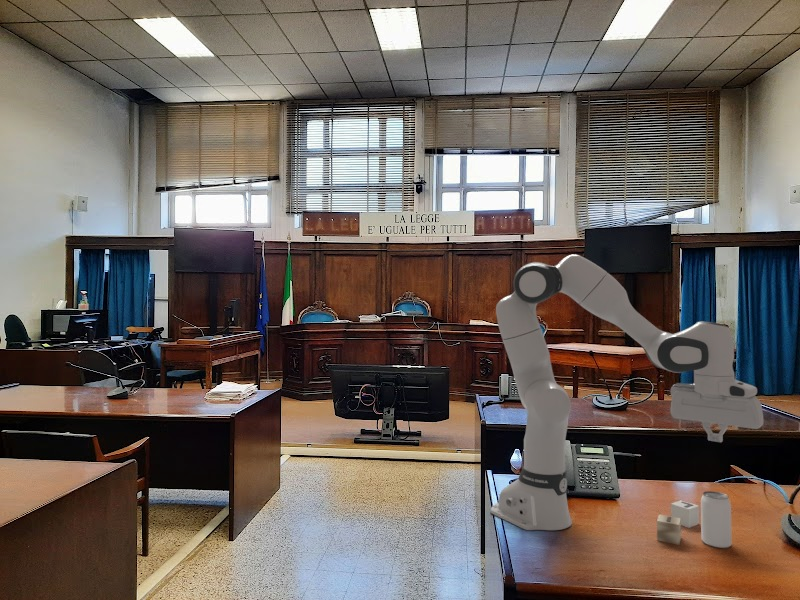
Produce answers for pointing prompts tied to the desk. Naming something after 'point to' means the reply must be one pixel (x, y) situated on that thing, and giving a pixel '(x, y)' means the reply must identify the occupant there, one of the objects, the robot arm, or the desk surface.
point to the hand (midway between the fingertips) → (715, 441)
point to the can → (716, 519)
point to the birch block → (669, 529)
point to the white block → (685, 513)
